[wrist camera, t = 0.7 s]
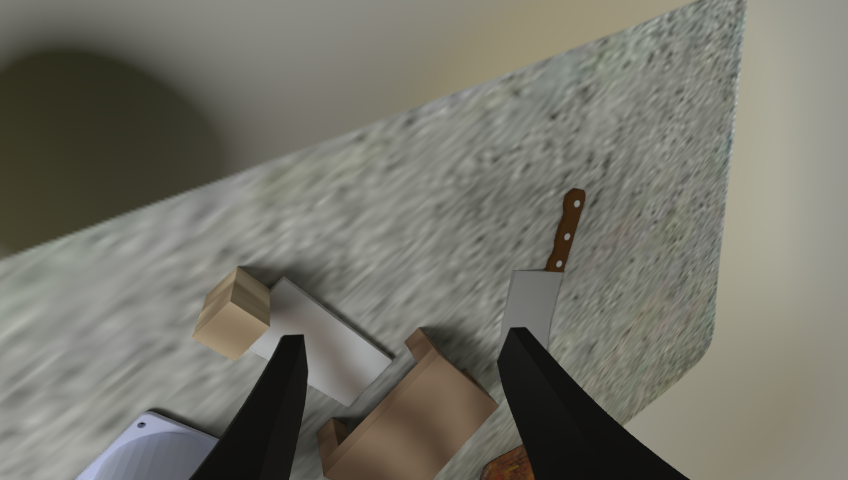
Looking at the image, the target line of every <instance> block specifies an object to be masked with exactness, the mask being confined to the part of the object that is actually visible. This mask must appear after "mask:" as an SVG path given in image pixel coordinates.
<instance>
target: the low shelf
mask: <svg viewBox="0 0 848 480" xmlns="http://www.w3.org/2000/svg"><path fill="white" fill-rule="evenodd" d="M405 344H406V345H407V347H408V348H409V350H410V352H411V353H412V355H413V356H414V358H415V359H416V361H417V362H418V364H417V365H416V366H415V367H414V368H413V369H412V370H411V371H410V372H409V373H408V374H407V375H406V376H405V377H404V378H403V379H402V380H401V382H400V383H399V384H398V385H397V386H396V387H395V388H394V389H393V390H392V391H391V392H390V393H389V394H388V395H387V396H386V397H385V398H384V399H383V400H382V402H381V403H380V404H379V405H378V406H377V407H376V408H375V409H374V410H373V411H372V412H371V413H370V414H369V415H368V416H367V417H366V418H365V419H364V420H363V421H362V423H361V424H360V425H359V426H358V427H357V428H356V429H355V430H354V431H353V432H352V433H351V434H350V435H349V434H348V430H347V426H346V425H345V424H343V423H341V422H339V421H337V420H335V419H334V418H331V419H330V420H329V421H328V422H327V423H326V424H325V425H324V426H323V427H322V428H321V429H320V430H319V431H318V432H317V437H318V443H319V450H320V456H321V462H322V468H323V475H324V477H326V478H329V479H331V480H432V479H433V478H434V477H435V476H436V475H437V473H438V472H439V471H440V470H441V469H442V468H443V467H444V466H445V465H446V463H447V462H448V461H449V460H450V459H451V458H452V457H453V456H454V455H455V454H456V452H457V451H458V450H459V449H460V448H461V447H462V446H463V445H464V444H465V443H466V441H467V440H468V439H469V438H470V437H471V436H472V435H473V434H474V433H475V432H476V430H477V429H478V428H479V427H480V426H481V425H482V424H483V423H484V422H485V420H486V419H487V418H488V417H489V416H490V415H491V414H492V413H493V412H494V411H495V409H496V408H497V407H498V406H499V405H498V404H497V403H496V402H495V401H494V400H493V398H492V397H491V396H490V395H489V394H488V392H487V391H486V390H485V389H484V388H483V386H482V385H481V384H480V383H479V382H478V380H477V379H476V378H475V377H474V376H473V375H472V374H471V373H470V372H468V371H467V370H466V369H465V371H464V372H462V371H460V370H459V369H458V368H457V367H456V366H455V365H453V364H452V363H451V362H450V361H449V360H448V359H447V358H445V356H444V355H443V354H442V352H441V351H440V350H439V349H438V347H437V346H436V345H435V343H434V342H433V341H432V340H431V338H430V337H429V336H427V335H426V334H425V333H424V332H423V331H422V330H421V329H420V328H418V329H417V330H416V331H415V332H414V333H413V334H412V335H411V336H410V337H409V338H408V339H407V340H406V341H405Z"/></svg>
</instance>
